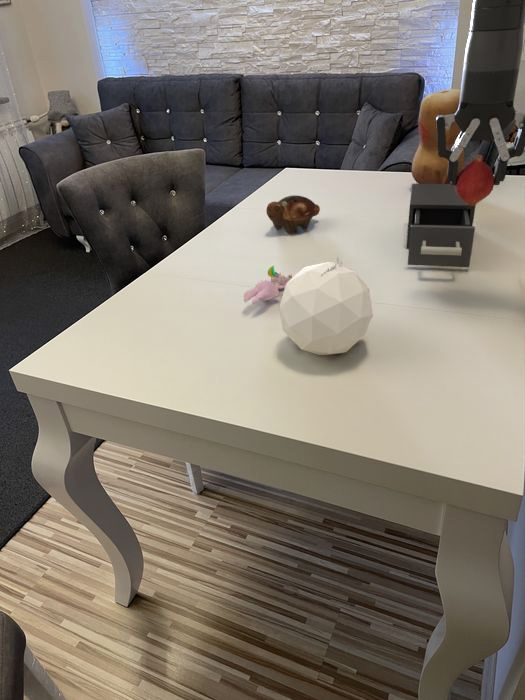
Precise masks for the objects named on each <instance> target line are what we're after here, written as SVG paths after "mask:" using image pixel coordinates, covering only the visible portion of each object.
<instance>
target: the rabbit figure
mask: <svg viewBox="0 0 525 700" xmlns="http://www.w3.org/2000/svg"><path fill="white" fill-rule="evenodd" d="M267 275H268V277H270V280H267V279H263V280H262V279H261V280H260V281H257V283H256V284H255V285H254V286H253V287H251V288H249V289H247V290H246V291H245V292H244V294H243V302H244V303H248V301H250V300H252V301H251V304H256V303H257V302H258V301H259V300H260V301H266V302H268V301H270V300H272V299H277V298H278V297H279V296H280V290H282V289H285V286H286V283H287V282H288V281H289V280H290V279H292V278H293V276H292V275H293V274H292V273H291V274H288V276H285V275H282V274H281V273H278V272H277V271H276V270H275V266H274V265H272V266H270V267H269V268H268V270H267Z"/></svg>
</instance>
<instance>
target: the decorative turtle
mask: <svg viewBox="0 0 525 700" xmlns="http://www.w3.org/2000/svg"><path fill="white" fill-rule="evenodd" d="M320 211H321V208H320V206H319V205H318V203H317V204H316V203H315V202H314V201H313V200H311V199H310V198H308V197H306V196H302V195H297V194H295V195H294V194H293V195H288V196H285V197H283V198H281V199H280V200H279V201H271V202H269V203H268V204H267V206H266V211H265V212H266V216H267V217H268V219H269V220H270V221H271V222H272V225H273V227H274V228H275V229H276V230H281V229H282V228H283V229H284V230H285V232H286V233H287V234H289V235H292V234H294V233H295V231H296V230H297V229H298V227H299V228H301V229H302V230H308V227H309V226H310V223H311V221H312V219H313V218H314V217H316V216H318V215H319V213H320Z"/></svg>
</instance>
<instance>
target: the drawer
mask: <svg viewBox="0 0 525 700" xmlns="http://www.w3.org/2000/svg"><path fill="white" fill-rule="evenodd" d="M475 230H476V226H475V225H473V226H470V221H469V215H468V209H427V208H416V214H415V225H411V230H410V242H409V249H408V254H407V255H408V256H407V265H408V266H425V267H426V266H427V267H430V266H431V267H450V268H455V267H456V268H470V265H471V258H472V252H473V251H472V250H473V244H474V238H475Z"/></svg>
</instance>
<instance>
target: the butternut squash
mask: <svg viewBox="0 0 525 700" xmlns="http://www.w3.org/2000/svg"><path fill="white" fill-rule="evenodd" d="M460 92H461V89H459V88H450V89H449V88H448V89H443V90H438V91H437V90H436V91H434V92H432V93H429V94H428V95H426V96H425V97H424V98H423V99H422V101H421V102H420V108H419V113H418V114H419V115H418V120H417V121H418V134H419V135H418V136H419V145H418V147H417V149H416V151H415V154H414V155H413V159H412V163H411V176H412V178H413V179H414V181H415V182H416V184H451V181H448V179H447V170H448V160H447V159H446V158H441V157H439V156H438V145H437V125H436V117H437V116H438V115H439V114H442V115H450V114H455V112H456V110H457V109H458V106H459V101H460ZM460 133H461V130H460V128H459V127H458V125H457V123H456V122H455V121H454V122H452V123H451V127H450V129H449V130H447V131H445V135H446V148H448V149H452V148H453V146H454V144H455V142H456V140H457V138H458V136H459V135H460ZM465 165H466V159H465V148H464V149H463V151H462V152H461V154H460V156H459V157H458V170H457V175H458V173H459V172H460V170H461V169H462V168H463V167H464V166H465Z"/></svg>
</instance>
